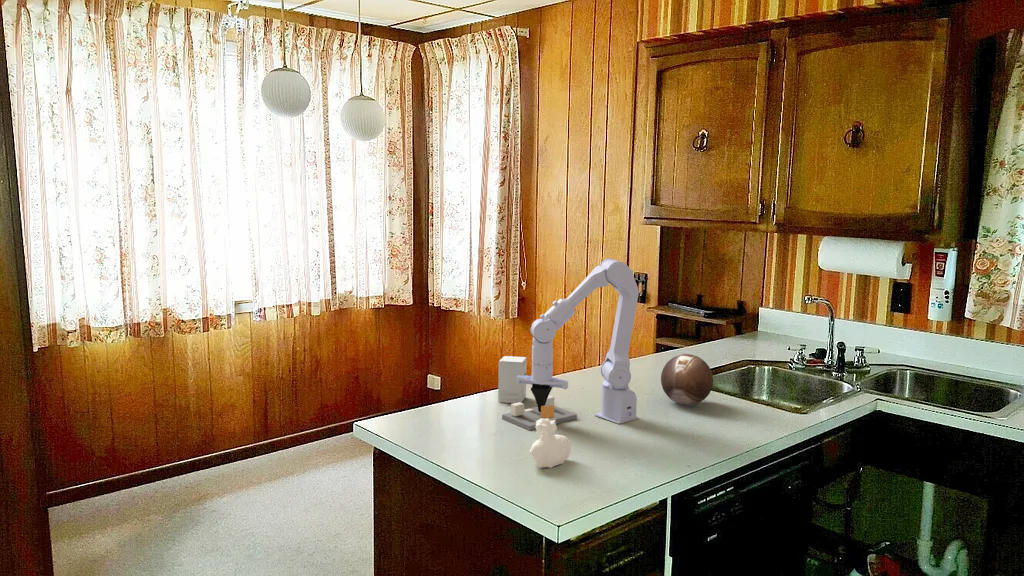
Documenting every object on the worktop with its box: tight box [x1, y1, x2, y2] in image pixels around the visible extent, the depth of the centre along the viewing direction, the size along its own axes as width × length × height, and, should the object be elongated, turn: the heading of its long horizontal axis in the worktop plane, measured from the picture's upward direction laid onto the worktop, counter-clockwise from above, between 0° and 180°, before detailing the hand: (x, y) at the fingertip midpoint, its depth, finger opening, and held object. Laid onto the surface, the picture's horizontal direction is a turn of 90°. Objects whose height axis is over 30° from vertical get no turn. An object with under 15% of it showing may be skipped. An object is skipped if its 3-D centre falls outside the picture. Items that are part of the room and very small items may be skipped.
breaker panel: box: [501, 395, 578, 431], centre depth 201 cm, size 12×17×4 cm
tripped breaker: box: [541, 404, 555, 418], centre depth 199 cm, size 2×3×3 cm, turn 128°
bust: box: [529, 418, 572, 469], centre depth 169 cm, size 12×8×11 cm
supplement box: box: [497, 355, 528, 404], centre depth 219 cm, size 7×7×13 cm
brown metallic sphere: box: [660, 353, 714, 406], centre depth 215 cm, size 15×15×15 cm
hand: (541, 411), depth 201 cm, fingers closed
